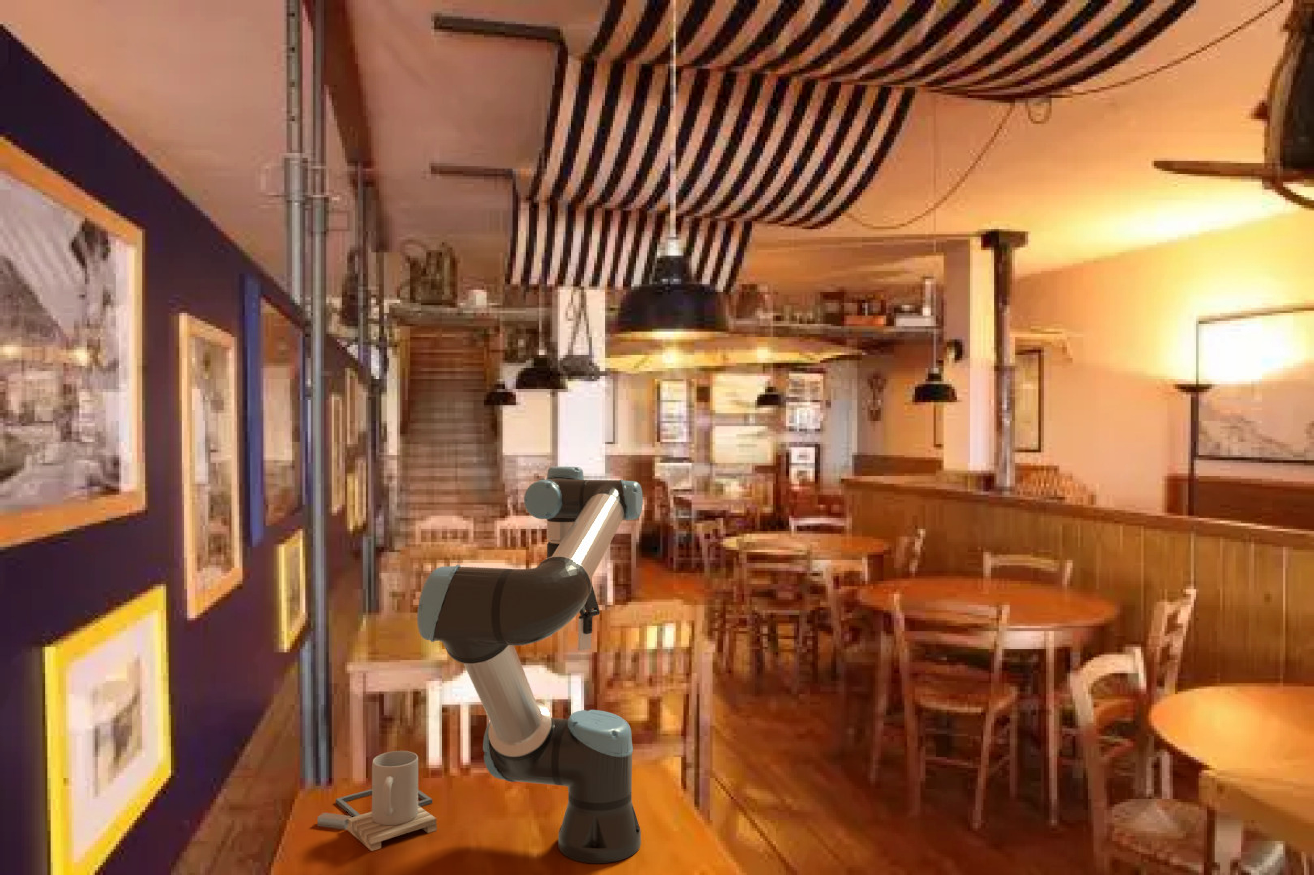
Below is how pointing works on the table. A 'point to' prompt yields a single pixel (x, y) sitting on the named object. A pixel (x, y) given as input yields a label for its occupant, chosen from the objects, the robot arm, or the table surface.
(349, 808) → the socket frame
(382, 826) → the rack
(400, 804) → the mug
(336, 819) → the grey rectangular bar
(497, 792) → the table surface
